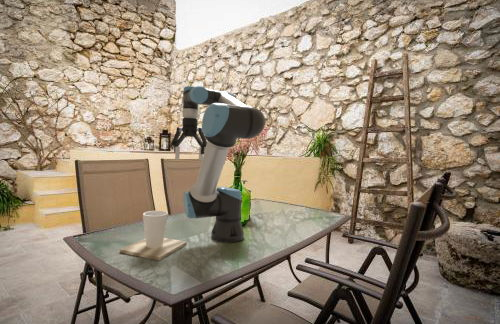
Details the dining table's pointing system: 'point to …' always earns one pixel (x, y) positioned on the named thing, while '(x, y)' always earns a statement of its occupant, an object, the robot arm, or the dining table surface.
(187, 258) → the dining table surface
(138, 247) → the ash board
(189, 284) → the dining table surface
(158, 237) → the foam cup
